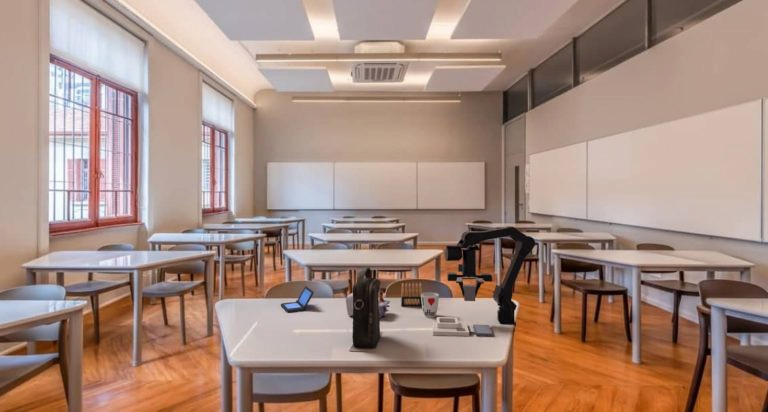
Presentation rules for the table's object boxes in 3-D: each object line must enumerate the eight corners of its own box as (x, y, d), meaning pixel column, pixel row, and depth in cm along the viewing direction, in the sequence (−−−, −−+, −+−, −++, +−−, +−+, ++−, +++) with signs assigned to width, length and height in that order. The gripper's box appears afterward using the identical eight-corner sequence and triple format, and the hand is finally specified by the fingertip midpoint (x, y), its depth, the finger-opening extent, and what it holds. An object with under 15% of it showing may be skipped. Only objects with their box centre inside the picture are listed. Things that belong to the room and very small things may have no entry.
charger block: (474, 298, 178) (474, 282, 178) (475, 301, 174) (475, 284, 174) (463, 298, 179) (463, 282, 179) (464, 300, 174) (464, 284, 174)
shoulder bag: (360, 331, 167) (360, 262, 166) (382, 332, 166) (382, 263, 165) (348, 351, 144) (348, 272, 144) (374, 352, 143) (373, 272, 143)
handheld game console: (280, 306, 209) (280, 288, 209) (306, 303, 215) (305, 285, 214) (287, 313, 195) (286, 294, 195) (314, 310, 200) (314, 291, 200)
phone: (488, 327, 171) (488, 324, 171) (493, 336, 159) (493, 333, 159) (473, 326, 171) (473, 324, 171) (476, 336, 159) (476, 333, 159)
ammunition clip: (401, 306, 206) (400, 282, 205) (401, 305, 207) (401, 282, 207) (422, 306, 205) (422, 283, 205) (422, 306, 206) (422, 282, 206)
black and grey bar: (475, 333, 163) (475, 331, 163) (476, 334, 162) (475, 332, 162) (468, 333, 163) (468, 330, 163) (468, 334, 162) (468, 331, 162)
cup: (418, 317, 186) (418, 295, 186) (425, 312, 194) (425, 291, 194) (435, 319, 183) (435, 297, 183) (441, 314, 190) (441, 293, 190)
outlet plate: (465, 325, 174) (465, 317, 174) (469, 336, 160) (469, 327, 160) (432, 324, 175) (432, 316, 175) (433, 335, 161) (433, 326, 161)
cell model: (349, 288, 197) (390, 290, 195) (349, 311, 198) (390, 313, 195) (344, 294, 185) (388, 296, 182) (343, 318, 185) (387, 320, 182)
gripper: (488, 258, 183) (488, 293, 183) (446, 258, 185) (446, 292, 185) (492, 262, 172) (492, 299, 172) (447, 261, 174) (447, 298, 174)
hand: (469, 296), depth 176 cm, fingers closed on charger block, 4 cm apart
